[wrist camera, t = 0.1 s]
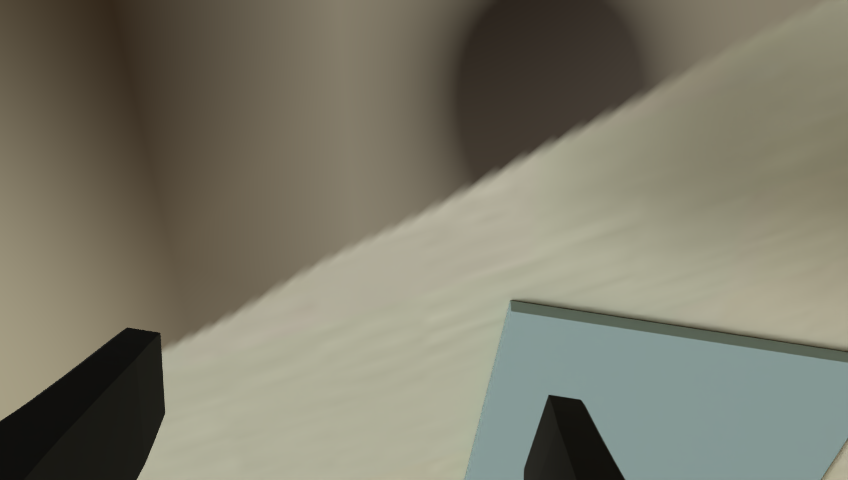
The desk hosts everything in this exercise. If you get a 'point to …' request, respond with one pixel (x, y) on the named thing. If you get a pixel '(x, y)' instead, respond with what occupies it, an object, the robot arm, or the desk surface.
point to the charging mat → (664, 398)
